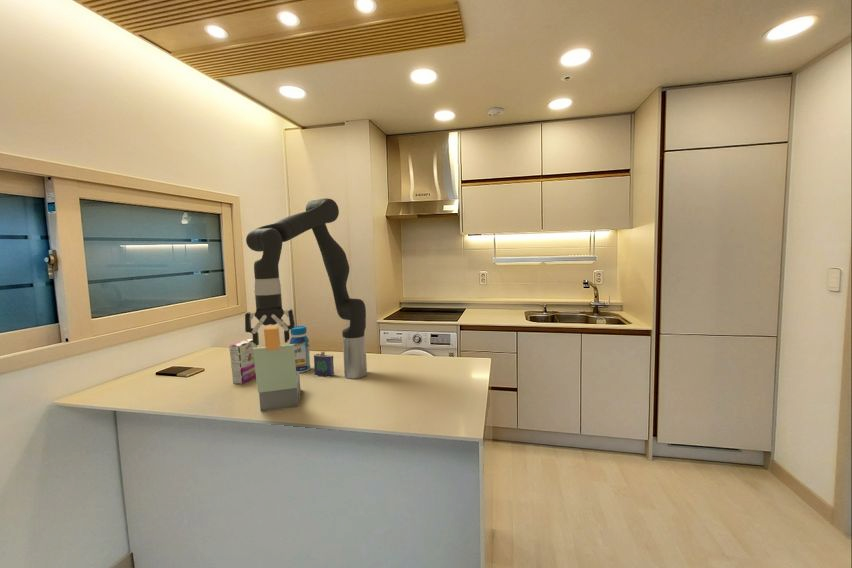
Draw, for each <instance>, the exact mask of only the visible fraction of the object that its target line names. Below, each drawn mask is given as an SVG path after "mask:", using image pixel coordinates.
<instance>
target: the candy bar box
mask: <svg viewBox="0 0 852 568" xmlns="http://www.w3.org/2000/svg"><path fill="white" fill-rule="evenodd" d="M257 347H258V345H255V344H254V343H253V338H247V339H243V340H241V341H238V342H236V343H233V344H230V345H229V355H230V357H229V358H230V365H231V375H232V384H234V385H244V384H246V383H247V382H249V381H251V380H252V379H254V378H255V379H256V372H255V363H254V355H253V348H257ZM245 382H246V383H245Z"/></svg>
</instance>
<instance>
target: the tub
mask: <svg viewBox="0 0 852 568" xmlns="http://www.w3.org/2000/svg"><path fill="white" fill-rule="evenodd" d="M300 374H301V373H299V372H296V376H297V388H292V389H284V390H276V391H268V392H260V393H258V397H259V409H260V411H263V412H269V410H270V411H275V410H276V409H277V410H283V408H284V409H289V408H290V407H292V408H297V407H299V404H300V403H299V402H300V396H301V377H300ZM290 409H291V408H290ZM277 410H276V411H277Z"/></svg>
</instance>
